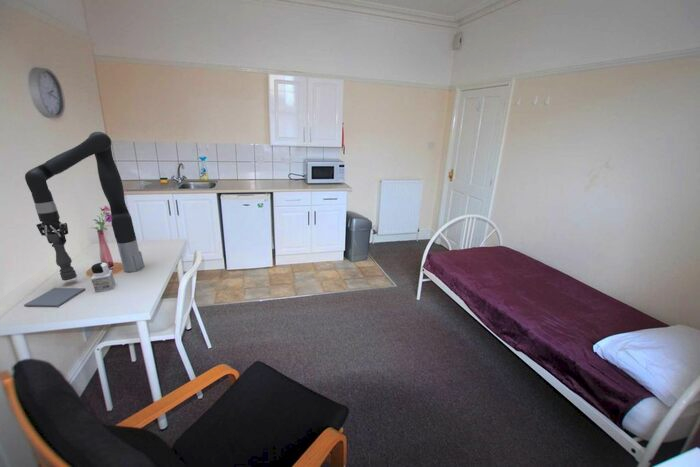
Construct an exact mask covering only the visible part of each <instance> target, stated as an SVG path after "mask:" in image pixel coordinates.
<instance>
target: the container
mask: <svg viewBox="0 0 700 467" xmlns="http://www.w3.org/2000/svg"><path fill="white" fill-rule="evenodd" d="M91 271H92V276H91V279H90V280H91V283H92V287H93V290H94V292H95V293H98V292H99V293H100V292H104V291H109V290H113V289H114V287H115V284H116V280H115V276H114V272H113V270H112V269H109V266H108V263H107V262H97V263H95V264H93V265H92V266H91Z"/></svg>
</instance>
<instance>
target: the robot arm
mask: <svg viewBox="0 0 700 467" xmlns="http://www.w3.org/2000/svg"><path fill="white" fill-rule="evenodd" d="M93 155H94V157H95V161H96V166H97V174H98V175H97V176H98V178H99V179H98V180H99V183H100V186H101V190H102V192H103V194H104V196H105V198H106V200H107V202H108V204H109V208H110V213H111V227H112V230H113V235H114V238H115V240H116V245H117V248H118V252H119V257H120V260H121V264H122V269H123V272H125V273H132V272H133V273H134V272H138V271H140V270H142V269H143V268H144V267H145V263H144V259H143V254H142V252H141V250H139V244H138V241H137V240H138V239H137V235H136V233H135V227H134V222H133V218H132V216H131V214H130V212H129V211H130V210H129V209H128V206H127V204H126V198H125V191H124V190H125V189H124V186H123V181H122V178H121V174H120V171H119V169H118V166H117V165H116V162H115V160H114V155H113V151H112V140H111V138H110V136H109V135H108V134H107V133H104V132H102V131H94V132H91V133H90V134H89V136H88V137H87V138H86V139H85V140H84V141H82V142H81V143H80V144H78V145H76V146H74V147H73V148H71V149H68V150H65V151H63V152H62V153H59V154H57V155H56V156H54V157H52V158H50V159H48V160H47V161H45V162H44V163H42V164H39V165H38V166H36V167H33V168H32V169H30V170H28V171H27V172H26V173H25V175H24V180H25V182H26V185H27V187H28V189H29V192H31V197H32V200H33V203H34V206H35V211H36V214H37V216H38V220H39V221H40V223H38V224H36V228H37V229H38V231H39V233H40V235H41V236H43V237H44V236H45V237H46V240H47V242H48V243H49V244H50V245H52V244H53V243H52V242H50V240H49V238H48V235H47V234H48V233H50V232H55V233H57V234H58V236H59V238H60V241H61V244H64V243H65V244H66V243H67V239H66V235H68V234H69V228H68V223H67V222H61V221H60V218H61V216H60V213H59V211H58V207H57V204H56V203H55V200H54V197H53V195H52V191H51V190H50V189H49V186H48V183H47V180H50V179H51V178H52V177H54V176H56V175H59V174H61V173H63V172H65V171H66V170H69V169H70V168H72V167H74V166H75V165H77V164H78V163H81V161H83V160H85V159H87V158H88V157H91V156H93ZM60 232H61V233H60Z"/></svg>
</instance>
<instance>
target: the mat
mask: <svg viewBox="0 0 700 467" xmlns="http://www.w3.org/2000/svg"><path fill="white" fill-rule="evenodd" d="M85 291H86V288H84V287H82V288H81V287H80V288H79V287H78V288H77V287H53V288H51V289H50V290H47V291H46V292H45V293H43V294H41V295H39V296H37V297H35V298H33V299H32V300H30V301H28V302H26V303H25V304H23V306H24V307H25V306H27V308H28V307H29V308H30V307H31V308H35V307H36V308H60V306H62V305H65V304H66V303H68V302H70V301H71V300H72V299H74V298H75V297H77V296H79V295H81V294H82V293H83V292H85Z"/></svg>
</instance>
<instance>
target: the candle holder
mask: <svg viewBox="0 0 700 467" xmlns="http://www.w3.org/2000/svg"><path fill="white" fill-rule="evenodd" d="M60 233H61V232H60ZM47 235H48V238H49V240H50V242H52V244H51V247H52V248H54V251H55V263H56V265H57V266H58V267H59V269H60V270H59V274H60V278H61V280H62V281H64V282H65V281H71V280H74V279H75V278H77V277H78V275H77V273H76V269H74V267H73V266H72V261H73V260H72V258H71V257H70V256H69V254H68V252H67V251H66V248H65V245H66V243H64V244H61V241H60V238H59V236H58V234H57V233H55V232H54V231H52V232H50V233H48V234H47Z"/></svg>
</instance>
